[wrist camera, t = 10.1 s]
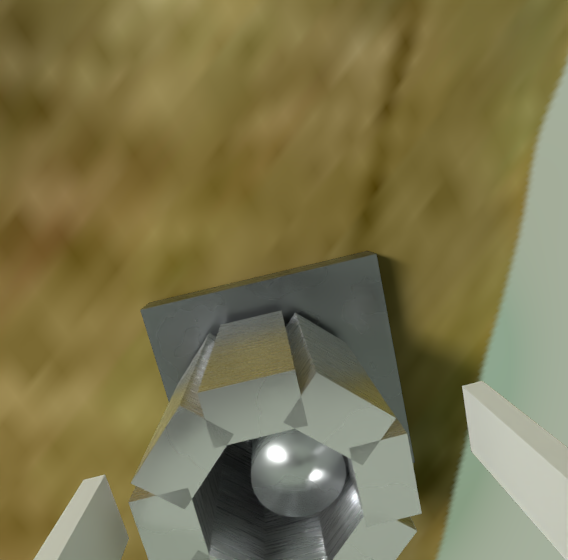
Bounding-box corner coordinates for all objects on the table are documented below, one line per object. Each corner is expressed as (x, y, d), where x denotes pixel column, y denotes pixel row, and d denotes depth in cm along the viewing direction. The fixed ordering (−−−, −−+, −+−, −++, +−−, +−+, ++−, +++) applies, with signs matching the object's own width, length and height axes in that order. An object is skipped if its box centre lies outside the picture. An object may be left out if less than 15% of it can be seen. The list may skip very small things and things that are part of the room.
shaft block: (149, 302, 20) (78, 360, 12) (367, 250, 20) (435, 275, 13) (207, 495, 22) (180, 648, 14) (404, 446, 23) (481, 571, 15)
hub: (159, 339, 18) (98, 416, 11) (341, 295, 18) (390, 346, 11) (208, 499, 20) (180, 651, 13) (374, 457, 20) (435, 586, 13)
